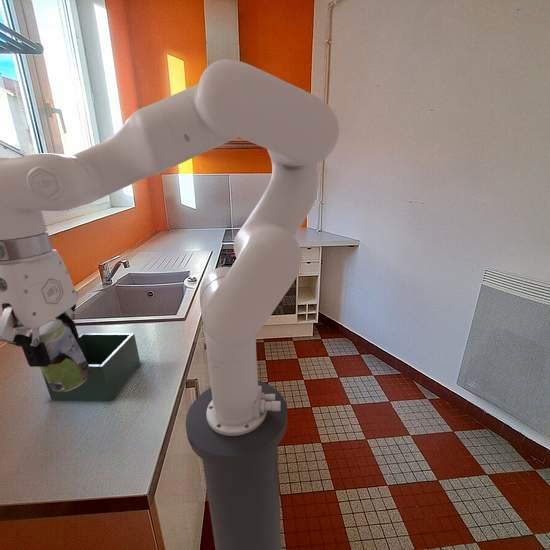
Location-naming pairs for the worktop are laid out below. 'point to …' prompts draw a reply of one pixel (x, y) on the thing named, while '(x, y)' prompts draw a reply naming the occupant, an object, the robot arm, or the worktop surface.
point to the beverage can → (63, 357)
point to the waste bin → (103, 366)
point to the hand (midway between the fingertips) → (56, 351)
